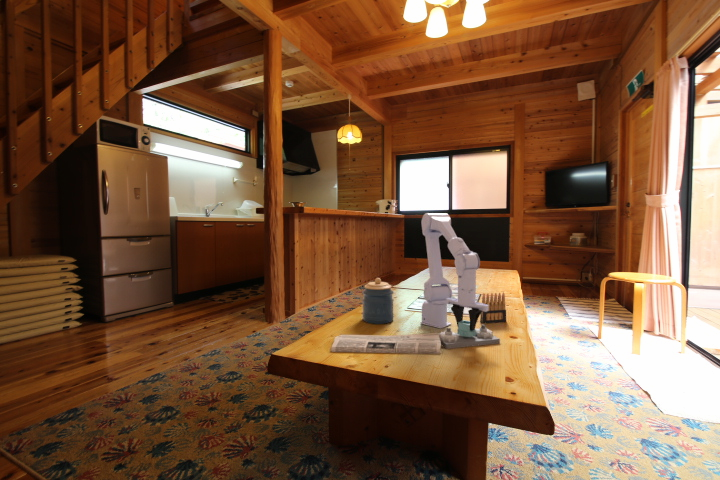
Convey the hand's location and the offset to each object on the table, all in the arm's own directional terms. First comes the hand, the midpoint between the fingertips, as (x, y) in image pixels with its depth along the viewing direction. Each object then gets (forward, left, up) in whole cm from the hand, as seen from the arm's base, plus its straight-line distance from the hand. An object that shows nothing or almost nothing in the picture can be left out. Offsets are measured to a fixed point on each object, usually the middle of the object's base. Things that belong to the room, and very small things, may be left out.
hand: (466, 328), depth 111 cm
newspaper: (-16, -22, -5) cm, 28 cm away
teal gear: (0, 0, -2) cm, 2 cm away
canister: (-38, -3, -5) cm, 38 cm away
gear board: (0, 0, -4) cm, 4 cm away
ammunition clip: (-3, +28, -5) cm, 29 cm away
